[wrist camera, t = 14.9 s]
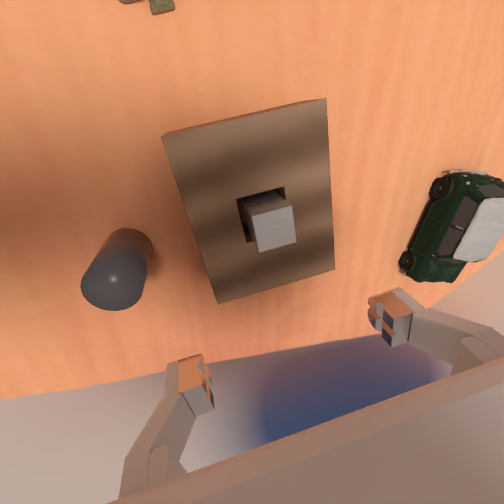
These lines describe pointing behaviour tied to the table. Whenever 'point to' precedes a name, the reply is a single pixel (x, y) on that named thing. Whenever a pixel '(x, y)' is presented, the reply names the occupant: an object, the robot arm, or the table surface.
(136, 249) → the round bit
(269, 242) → the square bit
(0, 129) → the table surface
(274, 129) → the bore block
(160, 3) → the gear puzzle
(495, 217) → the miniature car
